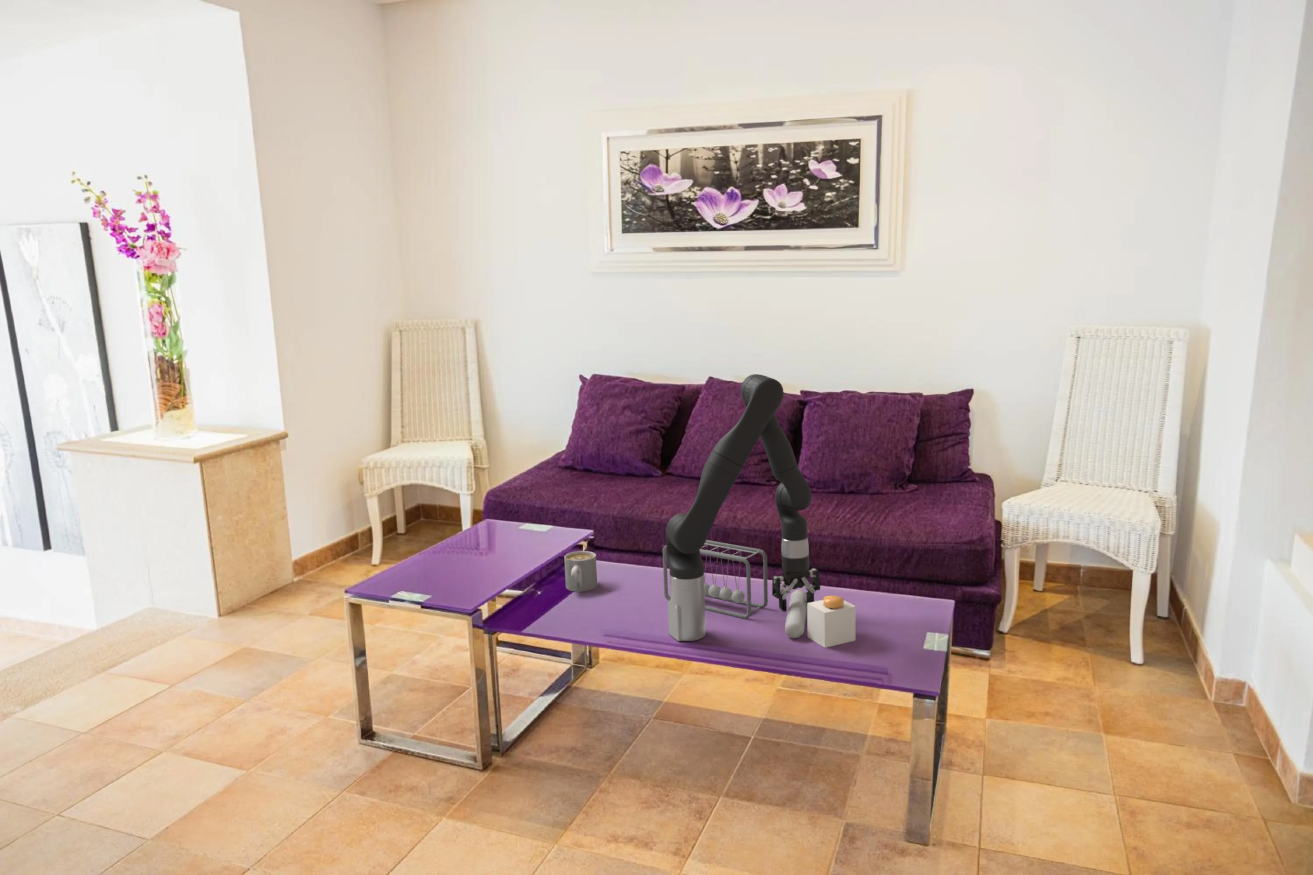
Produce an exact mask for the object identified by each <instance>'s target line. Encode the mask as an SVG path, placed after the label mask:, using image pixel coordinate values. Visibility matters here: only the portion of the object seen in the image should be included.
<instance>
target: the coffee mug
mask: <svg viewBox="0 0 1313 875" xmlns="http://www.w3.org/2000/svg"><path fill="white" fill-rule="evenodd" d="M563 562H564V576H565V578H564V579H565V589H566V590H567V591H570V592H578V593H579V592H588V591H591V590H594V589H596V588H597V587H598V572H597V571H598V568H597V556H596V553H595V552H592V551H588V550H578V551H572V552H568V553H566V554H565V555H564V561H563Z"/></svg>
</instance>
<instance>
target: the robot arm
mask: <svg viewBox="0 0 1313 875" xmlns="http://www.w3.org/2000/svg"><path fill="white" fill-rule="evenodd" d="M739 390H740V397H741V400H742V402H743V403H744V406H745V410H744V411H743V413H742V415H741V417H740V418H739V420H738V422H736V424H735V425H734V426H733V427H732V428H731V429H730V430H729V431H728V432H727V433H726V434H724V436H722V437H721V438H720V440H719V441H718V442H717V443H716V444H715V446H714V447H713V449H712V450H711V452H710V454H709V456H708V458H707V459H706V461H705V463H704V465H703V469H702V470H701V476H700V479H699V485H698V489H697V493H696V496H695V499H694V501H693V502H692V504H691V506H690V509H688V512H687V513H685V512H681V513H677V514H674V515H673V516H672V517H671V518H670V519H669V520H668V522H667V525H666V528H665V545H666V549H667V566H668V568H669V586H670V587H669V588H670V590H669V591H670V592H669V597H670V598H671V600H669V601H668V600H667V618H668V619H667V621H668V635H670V636H671V637H672V638H673V639H674V640H676V641H677V642H689V641H690V642H692V641H698V640H701V639H703V638H705V637H706V632H707V631H706V627H707V626H706V610H705V606H706V598H705V597H706V596H705V592H704V579H705V565H704V562H703V559H702V556H701V555H702V554H700V549H702V548H703V546H705V544H704V543H705V542H706V540H708V537H709V534H710V532H711V530H712V527H713V525H714V523H715V520H716V518H717V516H718V514H719V512H720V509H721V508H722V506H723V505H724V502H725V500H726V499H727V497H728V496H729V493H730V491H731V490H732V488H733V486H734V484H735V483H736V481H737V480H738V478H739V475H740V474H741V471H742V470H743V468H744V466H745V465H746V462H747V460H748V458H749V456H750V455H751V453H752V452H753V449H754V447H755V446H756V444H757V442H758V440H759V438H760V439H761V442H762V445H763V448H764V450H765V453H766V456H767V459H768V463H769V466H770V469H771V473H772V475H773V477H774V478H775V479H776V480H777V481H779V482H780V483H779V485H778V486H777V487H776V490H775V494H774V498H775V500H774V501H775V505H776V509H777V513H778V517H779V518H780V519H779V520H780V523H781V548H780V549H781V552H780V553H781V569H782V574H781V575H780V576H779V575H778V576H776V575H772V579H771V580H772V581H771V584H772V585H771V586H772V587H771V592H772V593H771V595H772V597H774V598H776V599H778V608H779V609H780V611H781V612H783V613H785V612H788V609H787V597H788V595H789V594H791V592H792V591H793V590H798V588H799V589H803V588H805V589H806V591H805V592H806V595H807V603H810V602H815V593H816V591H820V590H821V580H820V579H821V577H820V571H819V569H817V568H815V567H812V568H811V569H810V552H809V551H810V549H809V548H810V547H809V539H808V521H807V519H806V518H805V516H803V515H802V514H801V513H800V511H804V510H806V509H808V507H810V505H811V503H812V498H813V497H812V491H811V488H810V485H809V483H808V482H807V479H806V478H805V477H804V475H803V473H802V471H801V470H800V468H799V467H798V463H797V459H796V457H795V454H794V450H793V448H792V445H791V444H790V441H789V438H788V437H787V436H786V433H785V432H784V430H783V429H782V427H781V426H780V424H779V420H778V419H777V417H776V413H777V411H778V409H779V408H780V406H781V404H782V402H783V399H784V388H783V385H782V383H781V382H780V381H778V380H777V379H775V378H772V377H770V376H766V375H763V374H759V373H756V374H753V373H752V374H750V375H747V377H745V378H744V379H743V381H742V383H741V384H740V389H739ZM810 577H811V582H809V581H808V580H809V578H810ZM782 582H783V583H782Z"/></svg>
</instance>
